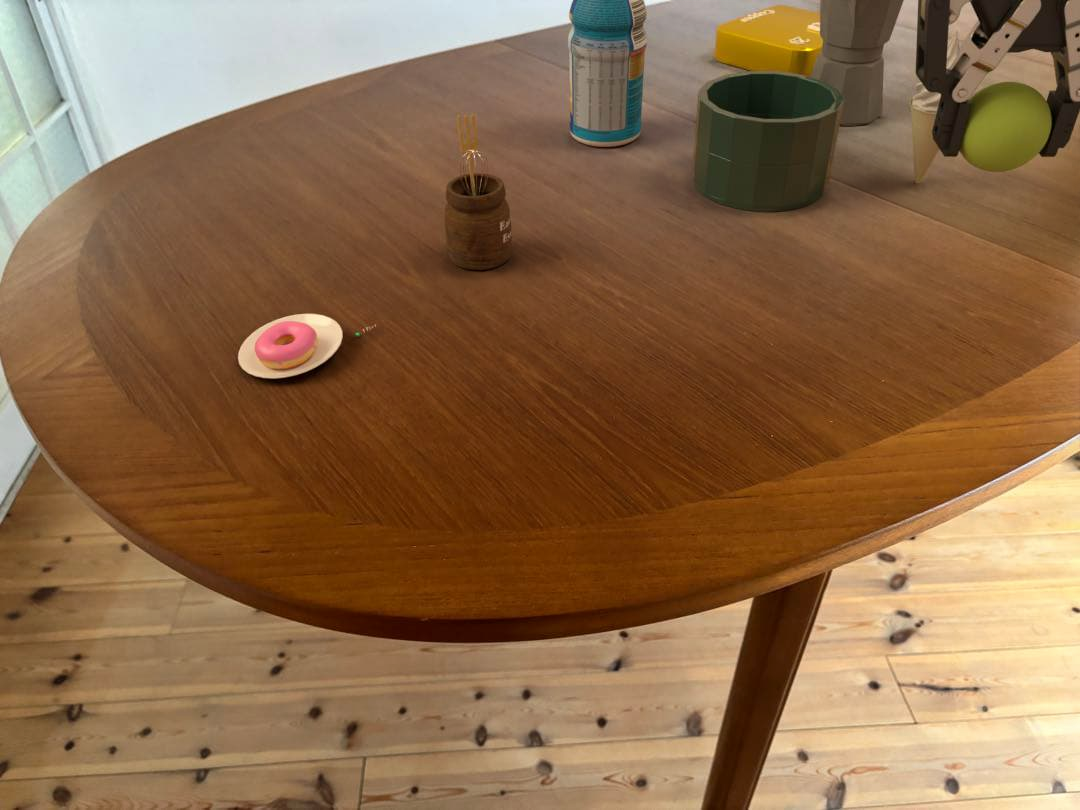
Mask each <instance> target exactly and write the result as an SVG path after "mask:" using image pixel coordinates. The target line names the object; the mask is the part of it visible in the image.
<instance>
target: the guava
mask: <svg viewBox="0 0 1080 810" xmlns="http://www.w3.org/2000/svg"><path fill="white" fill-rule="evenodd" d="M969 100H970V102H971V103H972V105H971V109H970V112H969V116H968V120H967V123H966V127H965V131H964V135H963V138H962V142H961V146H960V149H959V154H961V156H962V157H963V158H964V159H965V160H966V162H968V164H970V165H972V166H973V167H975V168H976V169H979V170H982V171H986V172H990V173H1001V172H1002V173H1003V172H1009V171H1013V170H1016V169H1019V168H1020V167H1023V166H1025V165H1026V164H1028V163H1030V161H1032V160H1033V159H1034V158H1036V156H1038V155H1039V152H1040V151H1041V150H1042V148H1043V147H1044V145H1045V144H1046V142H1047V140H1048V137H1049V135H1050V131H1051V125H1052V118H1051V111H1050V108H1049V106H1048V103H1047V99H1046V98H1045V97H1044V96H1043V95H1042V93H1040V91H1038V90H1037V89H1036V88H1034V87H1032V86H1030V85H1028V84H1026V83H1023V82H1018V81H1001V82H996V83H993V84H990V85H988V86H985V87H984V88H982V89H980V90H979V91H976V93H973V94H972V95H971V97H970V98H969Z"/></svg>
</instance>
